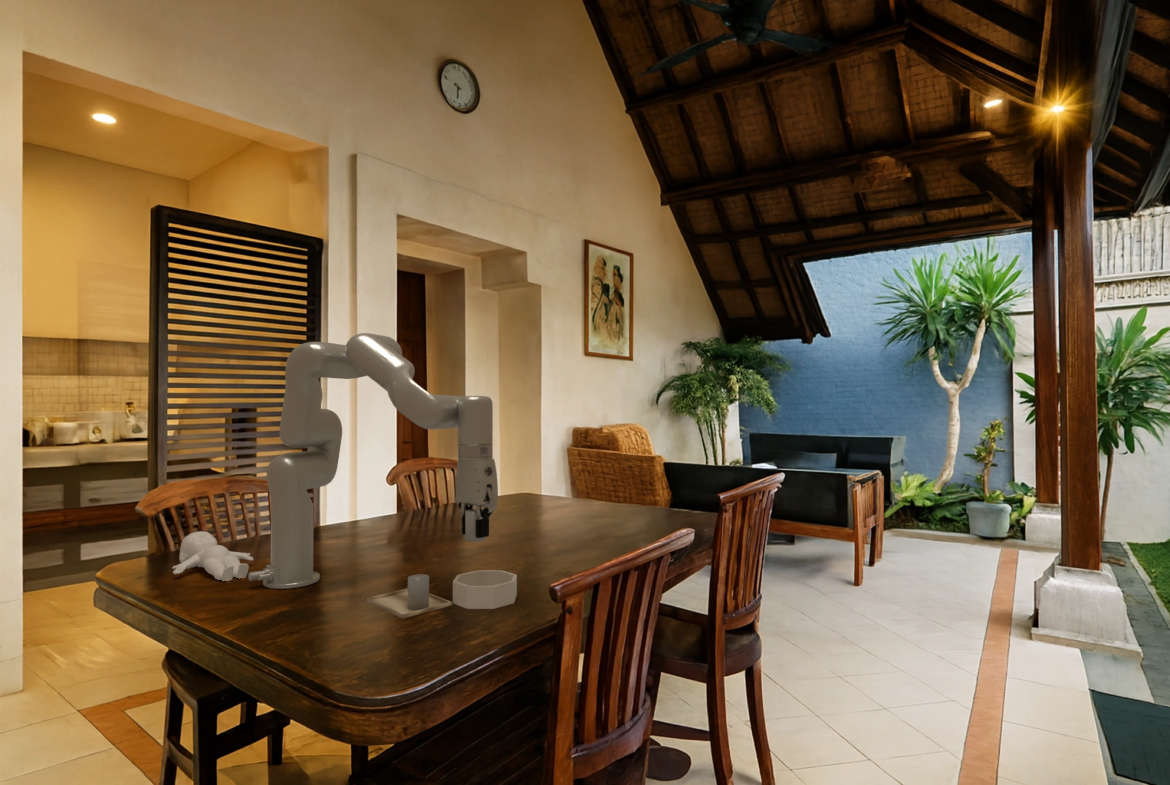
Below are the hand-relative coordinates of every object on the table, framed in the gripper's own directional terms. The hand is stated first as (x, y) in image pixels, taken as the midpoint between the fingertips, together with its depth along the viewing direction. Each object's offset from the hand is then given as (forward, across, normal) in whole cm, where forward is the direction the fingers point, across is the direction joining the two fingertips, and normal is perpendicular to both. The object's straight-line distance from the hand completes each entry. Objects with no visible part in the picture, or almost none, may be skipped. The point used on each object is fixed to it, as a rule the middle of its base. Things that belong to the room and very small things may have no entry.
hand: (475, 534), depth 140 cm
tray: (+15, +10, +11) cm, 21 cm away
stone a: (+1, 0, 0) cm, 1 cm away
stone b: (+15, +6, +11) cm, 19 cm away
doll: (+15, +71, +32) cm, 80 cm away
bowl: (+15, 0, -3) cm, 15 cm away
